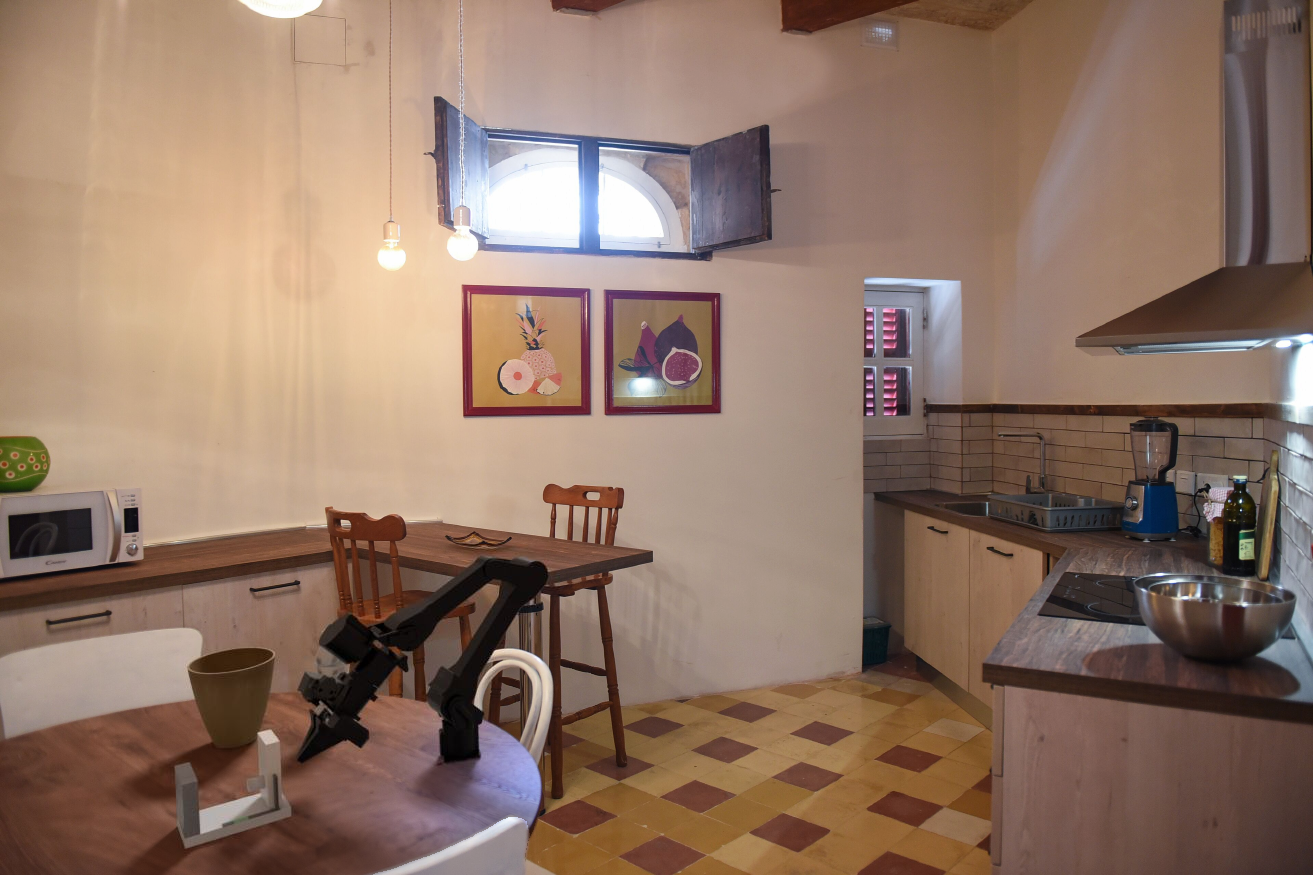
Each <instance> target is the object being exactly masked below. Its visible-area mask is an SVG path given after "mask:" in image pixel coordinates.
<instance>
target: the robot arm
mask: <svg viewBox="0 0 1313 875" xmlns="http://www.w3.org/2000/svg"><path fill="white" fill-rule="evenodd" d="M549 577H550V575H549V571H548V568H547V566H546V565H545V563H544V562H542V561H540V560H537V559H533V558H530V557H526V556H517V557H514V558H512V559H509V558H502V557H494V556H493V557H492V556H490V555H487V554H486V555H481V556H478V557H477V558H476V559H475V560H474V562H472V563H471V564H470V565H469V566H467V567H466V568H464V569H463V570H462V571H461V572H459V573H458V574H457V575H455V576H454V577H453V578H451V579H450V580H449V581H447V582H446V583H445V584H443V585H441V587H439V588H438V589H436V590H435V591H434V592H433V593H431V594H430V595H428V596H427V597H426V598H424V599H423V600H420V601H418V602H415V603H413V604H409V605H406V606H404V607H402V608H401V609H399V610H397V611H395V612H393V613H391V614H390V615H389V616H387V617H386V619H384V620H382V621H379V622H377V623H373V624H370V625H368V626H366V624H363V623H362V622H361V621H360V620H359V618H358V617H357V616H355V615H354V614H353V613H351V612H349V611H346V612H345V614H344V615H343V616H341V617H339V618H337V619H336V620H334V621H333V622H332V623H331V624H330V623H329V624H328V626H326V628H325V629H323V630H324V632H323V633H322V632H321V635H320V637H319V640H318V646H319V647H322V648H324V649H325V650H327V651H328V652H329V653H331V654H332V655H333V656H335V657H336V658H338V659H339V660H340V661H342V662H343V663H344V664H350V665H351V664H352V663H354V664H355V665H353V667H352V668H351V669H349V673H348V674H347V673H346V672H343V673H340V674H339V676H338V677H337V678H334V677H332V676H331V677H330V676H327V675H322V674H318V673H317V672H312V671H308V670H305V671H304V673H303V676H302V677H301V680H300V682H299V684H298V687H297V689H296V690H297V691H298V692H300V693H301V694H300V695H301V696H302V698H303V699H304V701H305V702H307V703H311V704H312V705H313V706H315V707H316V708H315V709H314V710H313V709H311V708H309V710H308V713H309V714H310V715H309V716H310V726H309V729H308V731H307V733H306V736H305V737H304V740H303V742H302V744H301V746H300V747H299V751H298V753H297V755H296V757H295V760H296V761H297V763H298V762H299V763H300V764H304V763H305V762H308V761H309V760H311V759H312V758H314V757H316V756H318V755H320V754H321V753H323V752H325V751H326V750H329V749H331V748H332V747H334V746H337V745H338V744H340V743H342V742H347V741H349V742H350V743H351V744H353V745H355V746H356V747H358V748H359V749H362V748H364V746H365V745H366V744H367V742H368V741H369V739H370V730H369V728H367V727H366V726H365V725H364V724H363V723H362V722H360V721H361V720H362V718H361V717H360V716H359V714H360V713H361V712H362V711H363V710H364V708H365V707H366V706H367V704H369V702H370V701H372V702H373V703H375V702H376V701H377V699H378V698H379V697H378V696H377V695H376V693H378V691H379V689H380V688H381V687H382V686H383V685H384V683H385V682H386V681H387V680H388V679H389V677H390V676H391V675H392V673H393V672H394V670H396V668H398V669H400V670H401V671H402V672H404V673H408V672H409V670H410V669H409V663H408V659H409V656H408V655H407V654H405V653H403V652H406V653H410V652H411V653H412V652H414V651H415V650H417V649H418V648H420V647H421V646H422V645H423V644H424V643H425V641H427V640H428V639H429V638H430V637H431V636H432V634H433V633H434V631H435V630H436V628H437V626H438V624H439V623H440V622H441V621H442V620H443V619H444V618H445V617H446V616H447V615H449V614H450V613H451V612H453V611H454V610H455V609H456V608H458V607H459V606H460V605H462V604H464V602H465V601H467V600H469V599H470V598H471V597H472V596H474V594H476V593H477V592H478V591H480V590H481V589H483V588H484V587H485V586H486V585H488V584H489V583H490V582H492V581H494V580H496V581H500V587H499V594H498V596H497V598H496V599H495V601H494V603H493V604H492V606H491V608H490V609H489V611H488V612H487V614H486V615H485V617H484V618H483V620H482V622H481V623H480V625H479V627H478V628H477V629H476V631H475V633H474V634H473V636H472V638H471V640H469V642H468V643H467V645H466V647H465V649H464V651H463V652H462V653H461V655H460V657H459V658H458V660H457V661H456V662H455V663H454V664H453V665H452V666H450V667H449V668H446V667H444V666H443V665H440V667H439V669H438V670H437V672H436V674H435V676H434V678H433V679H432V680H431V681H430V682H429V683H428V684H427V685H428V687H429V688H428V691H427V693H426V697H427V698H426V700H427V704H428V705H429V707H430V708H431V709H432V710H433V711H435V712H436V713H437V715H438V717H439V718H442V719H441V728H439V729H438V748H439V749H438V750H439V756H441V757H442V758H443V763H444V764H447V763H454V762H461V761H466V760H472V759H478V758H481V757H482V752H481V750H480V739H479V738H480V735H479V732H480V731H479V728H480V727H479V725H480V726H481V725H482V723H483V720H484V717H485V712H484V711H483V710H481V708H479V707H478V706H476V705H475V704H473V702H474V699H475V698H476V695H477V691H478V684H479V678H480V676H481V674H482V671H483V670H484V668H485V667H486V665H487V664H488V662H489V660H490V659H491V657H492V655H493V654H494V652H495V651H496V649H497V647H498V646H499V644H500V643H501V642H502V639H503V638H504V636H505V634H506V633H507V631H508V629H509V628H510V626H511V624H512V623H513V622H514V620H515V618H516V617H517V615H518V613H519V612H520V610H521V609H522V608H523V607H524V606H526V605H527V604H528V603H530V602H531V601H532V600H533V599H535V598H537V596H538V594H540V592H542V590H543V589H544V588H545V587H546V585H547V583H548V581H549ZM375 641H377V643H379V644H380V645H382V646H381V647H378V646H376V645H375V644H374V642H375ZM391 648H395V649H397V650H399V651H402V653H397V652H395V651H394V650H393V649H391Z"/></svg>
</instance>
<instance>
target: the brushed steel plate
mask: <svg viewBox="0 0 1313 875" xmlns="http://www.w3.org/2000/svg"><path fill="white" fill-rule="evenodd" d="M174 778H175V780H174V782H175V802H176V803H175V804H176V817H177V818H178V821H179V824H180V826H181V829H182V832H183V835H184V838H185V839H186V838H189V837H192V836H196V835H199V834H200V816H199V810H200V800H199V799H200V798H199V782H198V778H197V775H196V774H195V772H194V769H193V767H192V764H191V762H190V761H189V762H184V763H181V764H177V765H174ZM177 818H176V819H177Z"/></svg>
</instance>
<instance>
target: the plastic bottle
mask: <svg viewBox="0 0 1313 875" xmlns="http://www.w3.org/2000/svg"><path fill="white" fill-rule="evenodd" d="M324 630H325V629H323V630H322V632H321V634H322V633H323V632H324ZM314 664H315V668H316V669H315V670H316V673H318V674H322V675H327V676H330V677H331V676H332V677H334V678H337V677H338V676H339V674H340V673H343V672H346V673H347V674H348V673H349V672H350V667H351V666H350V665H351V663H350V664H344V663H343V662H342V661H340V660H339V659H338V658H336V657H335V656H333V655H332V654H331V653H329V652H328V651H327V650H325V649H324V648H322V647H321V646H319V648H318V649H317V652H316V653H315V657H314Z"/></svg>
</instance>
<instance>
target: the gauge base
mask: <svg viewBox="0 0 1313 875" xmlns="http://www.w3.org/2000/svg"><path fill="white" fill-rule="evenodd" d="M199 816H200V834H199V835H196V836H192V837H189V838H186V839H185V838H184V835H183V832H182V829H181V826H180V824H179V821H178V818H176V820H177V822H176V823H177V829H178V832H179V834H180V837H181V840H182V843H183V847H184V849H185V850H186V849H190V848H192V847H196V846H199V845H202V844H204V843H208V842H212V841H215V840H219V839H222V838H225V837H228V836H231V835H235V834H238V833H241V832H245V831H247V830H251V829H254V828H258V827H261V826H264V825H268V824H271V823H274V822H278V821H281V820H283V819H287V818H290V817H292V807H291V804H290V803H289V801H288V800H287V798H286V797H285V795H284V794H283V793H282V804H281V805H279V808H278V809H276V808H275V806H274V807H271V808H268V806H267V804H266V803H265V801H264V799H263V798H262V796H261V794H260V792H259V793H256V794H252V795H249V796H245V797H242V798H239V799H236V800H231V801H228V802H224V803H221V804H218V805H214V806H211V807H207V808H203V809H199Z"/></svg>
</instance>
